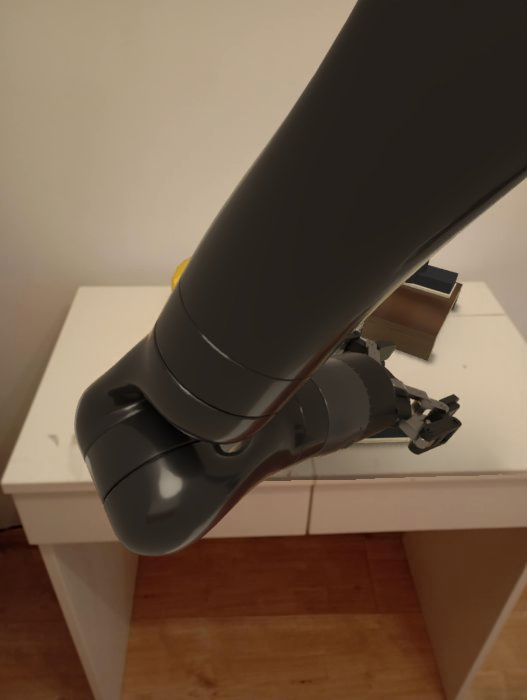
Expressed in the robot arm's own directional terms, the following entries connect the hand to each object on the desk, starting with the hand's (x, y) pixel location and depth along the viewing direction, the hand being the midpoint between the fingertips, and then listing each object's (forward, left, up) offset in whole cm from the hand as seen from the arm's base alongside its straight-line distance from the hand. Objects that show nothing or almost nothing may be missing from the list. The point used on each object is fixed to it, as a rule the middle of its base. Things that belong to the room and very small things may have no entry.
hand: (419, 375), depth 50 cm
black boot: (+11, -39, -12) cm, 43 cm away
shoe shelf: (+10, -34, -17) cm, 39 cm away
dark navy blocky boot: (+5, -5, -17) cm, 19 cm away
